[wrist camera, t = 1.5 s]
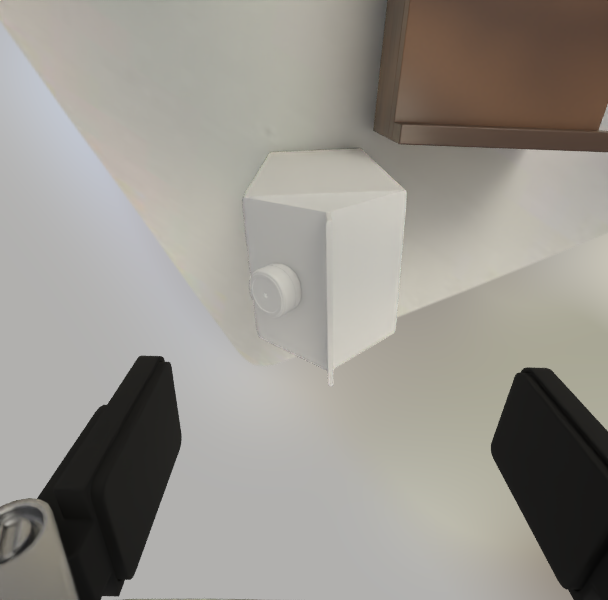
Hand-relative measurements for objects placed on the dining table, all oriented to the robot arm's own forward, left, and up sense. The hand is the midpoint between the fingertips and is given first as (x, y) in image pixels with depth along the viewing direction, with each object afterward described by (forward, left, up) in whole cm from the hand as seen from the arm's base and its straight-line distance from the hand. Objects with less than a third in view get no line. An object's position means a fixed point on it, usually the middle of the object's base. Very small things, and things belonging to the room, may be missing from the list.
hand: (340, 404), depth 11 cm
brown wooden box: (-12, +10, -24) cm, 28 cm away
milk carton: (0, 0, -24) cm, 24 cm away
